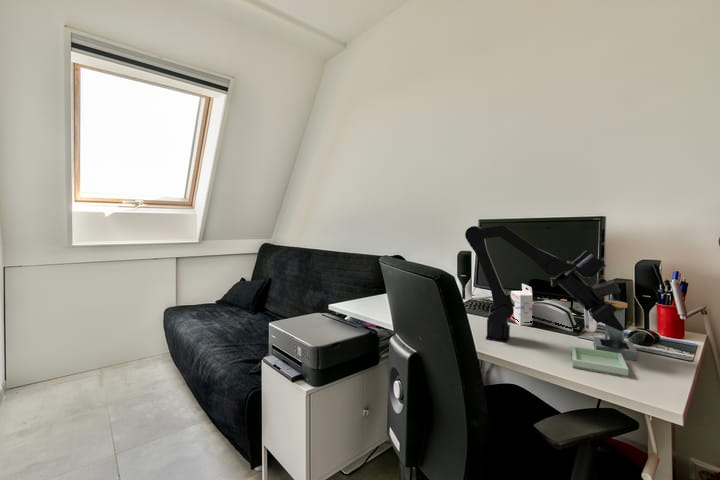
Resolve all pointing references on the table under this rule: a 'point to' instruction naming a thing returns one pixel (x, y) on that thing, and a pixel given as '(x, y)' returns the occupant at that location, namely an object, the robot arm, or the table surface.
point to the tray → (599, 361)
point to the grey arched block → (553, 314)
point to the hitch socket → (627, 352)
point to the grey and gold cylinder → (611, 334)
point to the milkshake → (589, 322)
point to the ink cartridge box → (522, 305)
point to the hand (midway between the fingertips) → (620, 327)
